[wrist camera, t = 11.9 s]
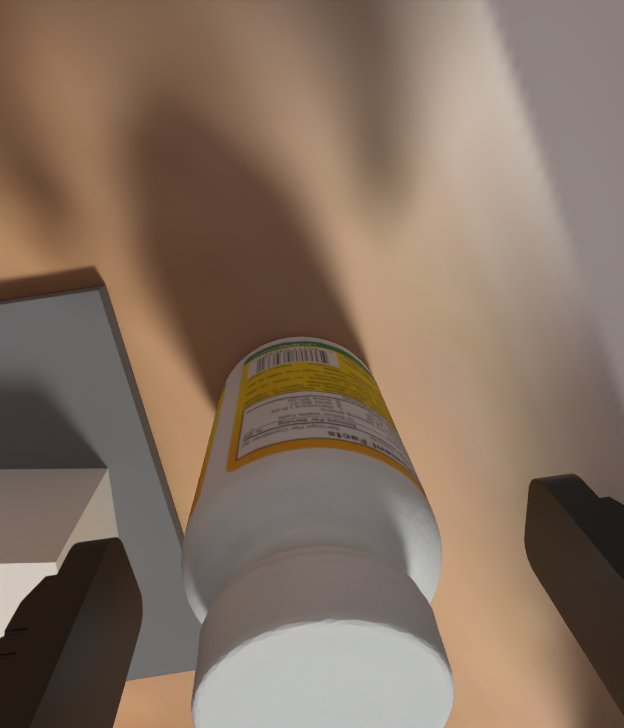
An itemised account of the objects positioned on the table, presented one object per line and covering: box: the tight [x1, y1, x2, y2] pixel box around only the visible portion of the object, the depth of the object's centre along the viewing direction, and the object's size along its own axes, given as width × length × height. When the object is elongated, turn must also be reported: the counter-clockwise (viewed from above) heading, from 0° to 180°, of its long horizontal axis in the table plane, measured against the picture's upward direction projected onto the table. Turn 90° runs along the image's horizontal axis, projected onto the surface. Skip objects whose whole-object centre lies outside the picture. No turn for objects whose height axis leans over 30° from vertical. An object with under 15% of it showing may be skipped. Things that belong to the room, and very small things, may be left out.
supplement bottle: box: [181, 337, 454, 728], centre depth 11 cm, size 5×5×10 cm
